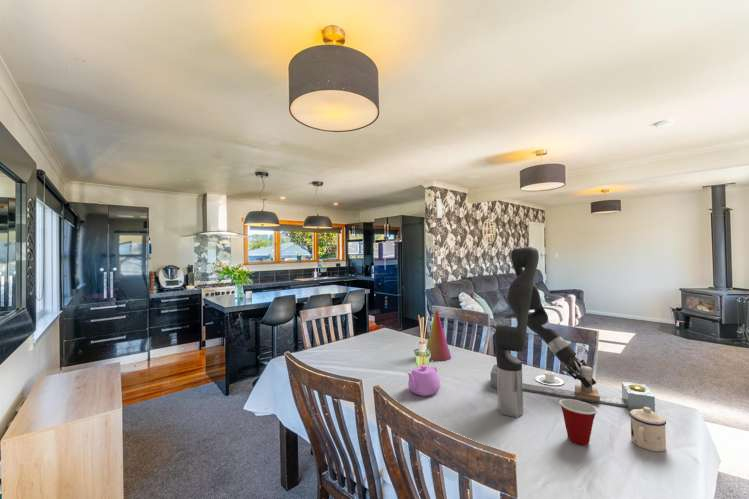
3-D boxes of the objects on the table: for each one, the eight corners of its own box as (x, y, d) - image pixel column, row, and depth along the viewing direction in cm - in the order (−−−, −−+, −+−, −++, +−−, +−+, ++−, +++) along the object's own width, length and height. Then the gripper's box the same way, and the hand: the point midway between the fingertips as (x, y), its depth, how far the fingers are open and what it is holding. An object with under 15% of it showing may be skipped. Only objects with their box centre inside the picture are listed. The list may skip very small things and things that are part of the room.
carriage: (599, 401, 132) (599, 372, 132) (576, 397, 136) (575, 369, 136) (596, 392, 140) (595, 365, 140) (574, 389, 144) (574, 362, 144)
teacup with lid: (635, 433, 112) (634, 398, 112) (670, 445, 104) (669, 409, 105) (622, 445, 105) (621, 409, 105) (659, 460, 97) (658, 421, 98)
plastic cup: (605, 443, 106) (604, 406, 106) (587, 454, 101) (586, 415, 101) (571, 428, 116) (570, 394, 116) (553, 437, 110) (552, 402, 110)
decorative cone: (418, 357, 196) (417, 307, 197) (435, 351, 207) (433, 303, 207) (440, 363, 184) (439, 310, 185) (456, 356, 195) (455, 306, 195)
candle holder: (531, 382, 157) (531, 373, 157) (540, 374, 166) (539, 366, 166) (559, 389, 149) (559, 379, 149) (566, 381, 157) (566, 372, 157)
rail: (655, 415, 123) (654, 395, 123) (490, 388, 150) (490, 371, 150) (646, 401, 134) (645, 383, 134) (494, 378, 161) (494, 363, 161)
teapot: (425, 381, 159) (425, 357, 159) (448, 390, 149) (447, 364, 149) (396, 394, 146) (396, 368, 146) (419, 404, 136) (418, 376, 136)
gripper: (558, 347, 141) (590, 385, 131) (575, 342, 148) (606, 377, 138) (547, 357, 145) (576, 394, 135) (564, 351, 153) (593, 385, 143)
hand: (591, 385), depth 137 cm, fingers closed on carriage, 4 cm apart
